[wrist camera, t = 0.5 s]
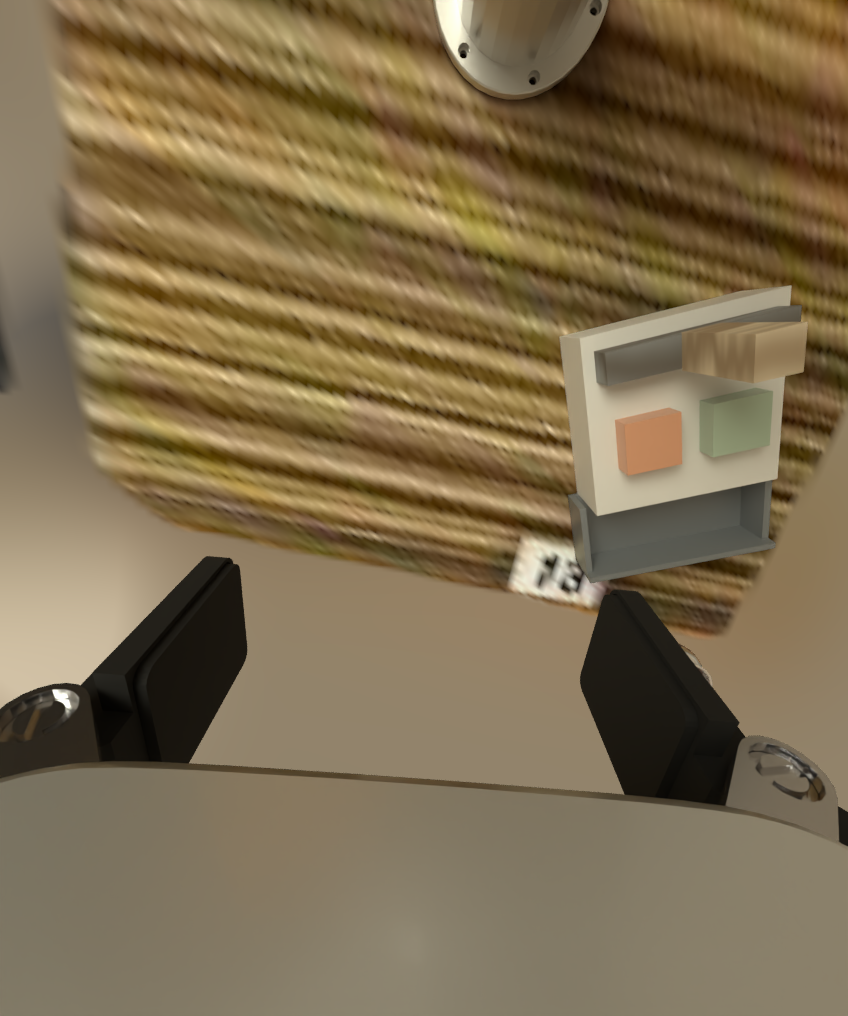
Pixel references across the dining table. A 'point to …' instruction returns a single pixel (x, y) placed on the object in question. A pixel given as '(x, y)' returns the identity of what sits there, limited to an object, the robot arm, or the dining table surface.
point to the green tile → (735, 422)
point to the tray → (671, 532)
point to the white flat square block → (675, 389)
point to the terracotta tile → (649, 441)
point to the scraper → (715, 349)
